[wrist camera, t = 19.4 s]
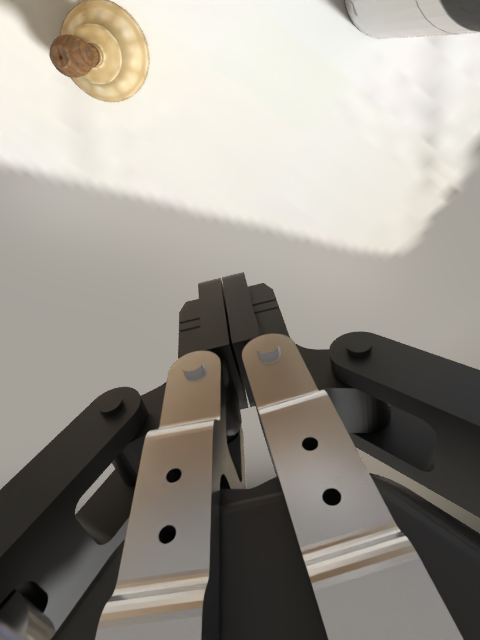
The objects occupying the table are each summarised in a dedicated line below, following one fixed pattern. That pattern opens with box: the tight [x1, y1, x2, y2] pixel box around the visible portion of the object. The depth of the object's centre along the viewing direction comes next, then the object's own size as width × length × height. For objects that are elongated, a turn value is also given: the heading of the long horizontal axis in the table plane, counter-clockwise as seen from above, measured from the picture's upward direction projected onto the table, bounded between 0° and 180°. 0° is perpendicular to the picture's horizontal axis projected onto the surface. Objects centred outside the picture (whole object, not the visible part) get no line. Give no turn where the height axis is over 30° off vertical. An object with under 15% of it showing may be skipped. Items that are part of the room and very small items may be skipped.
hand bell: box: [50, 0, 149, 102], centre depth 33 cm, size 8×8×16 cm
